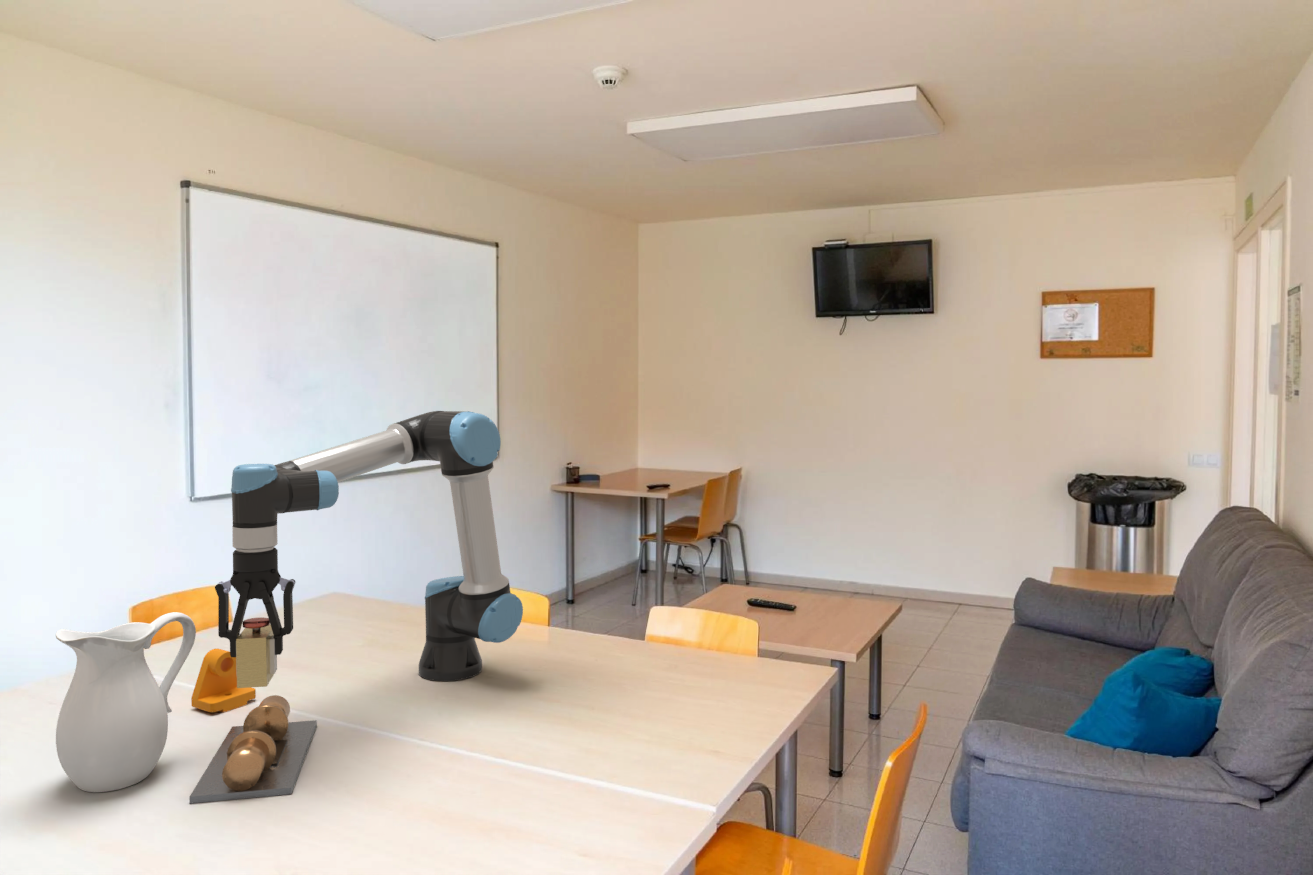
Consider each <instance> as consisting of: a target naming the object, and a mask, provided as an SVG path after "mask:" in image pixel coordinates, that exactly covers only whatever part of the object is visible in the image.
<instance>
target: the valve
mask: <svg viewBox="0 0 1313 875" xmlns="http://www.w3.org/2000/svg"><path fill="white" fill-rule="evenodd" d="M242 627H243V628H244V629H243V630H242V631H241V632H240V635H239V636H238V638H237V639H236V657H237V688H250V687H251V688H265V687H268V685H269V683H270V682H271V680H272V679H273V677H274V675H275V674H270V638H271V637H272V635H273V631H272V628H271V625H270V621H269V618H268V617H253V618H252V617H251V618H247V619H243V622H242Z"/></svg>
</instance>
